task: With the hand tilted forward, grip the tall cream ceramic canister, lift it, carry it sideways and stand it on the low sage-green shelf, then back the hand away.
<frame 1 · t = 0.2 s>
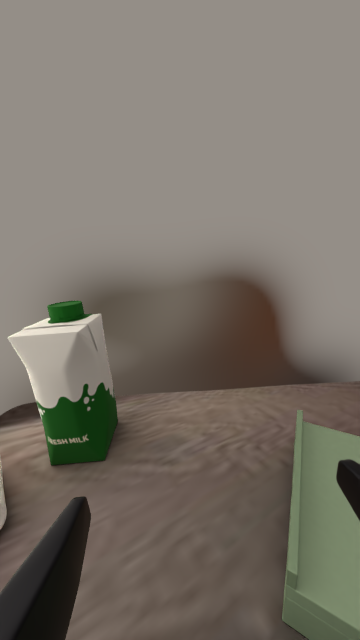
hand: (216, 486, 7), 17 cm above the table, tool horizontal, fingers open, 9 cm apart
milk carton: (88, 442, 31), on the table
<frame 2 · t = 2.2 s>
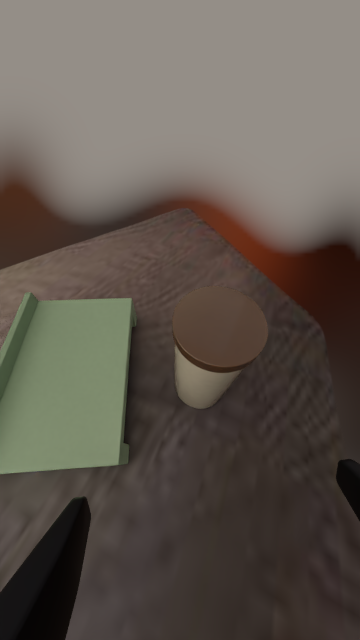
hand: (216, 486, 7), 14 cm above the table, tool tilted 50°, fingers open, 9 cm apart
canister: (199, 382, 23), on the table
shelf: (82, 379, 23), on the table
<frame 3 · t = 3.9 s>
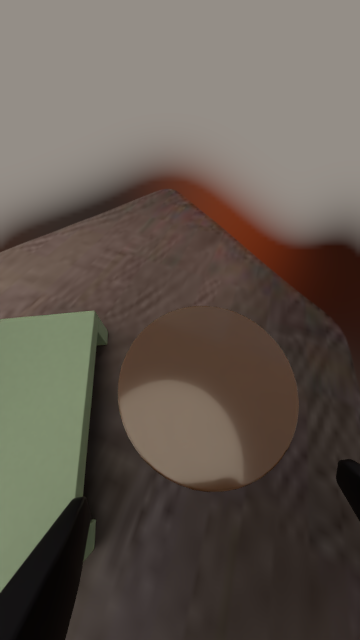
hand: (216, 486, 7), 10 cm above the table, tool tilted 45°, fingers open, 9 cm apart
canister: (190, 418, 18), on the table
shelf: (35, 424, 17), on the table
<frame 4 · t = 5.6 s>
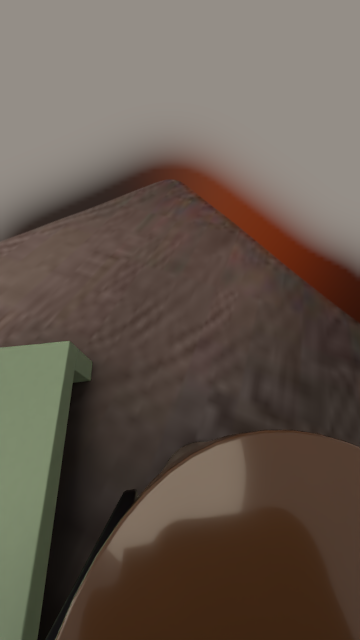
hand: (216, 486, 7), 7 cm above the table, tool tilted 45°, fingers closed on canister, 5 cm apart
canister: (204, 495, 12), on the table, touching gripper
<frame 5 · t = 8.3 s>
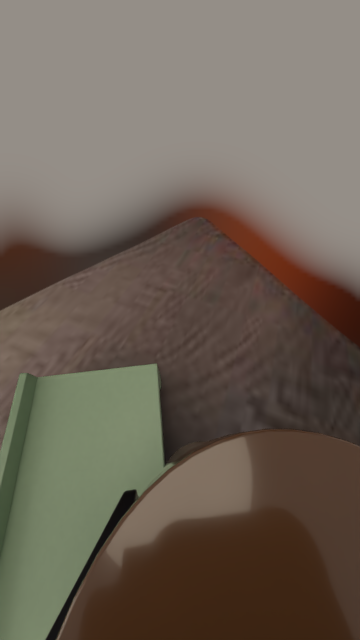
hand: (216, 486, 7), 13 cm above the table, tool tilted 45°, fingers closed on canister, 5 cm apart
canister: (204, 494, 12), point 7 cm above the table, touching gripper
shelf: (104, 473, 18), on the table
when the fingers open (11 cm above the table, at t = 10.8 s): canister stays where it is, resting on shelf.
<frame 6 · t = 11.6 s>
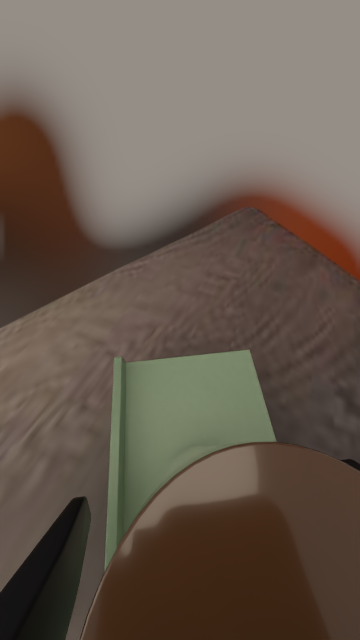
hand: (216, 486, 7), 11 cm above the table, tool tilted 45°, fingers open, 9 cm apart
canister: (204, 495, 13), point 4 cm above the table, touching shelf
shelf: (196, 466, 17), on the table
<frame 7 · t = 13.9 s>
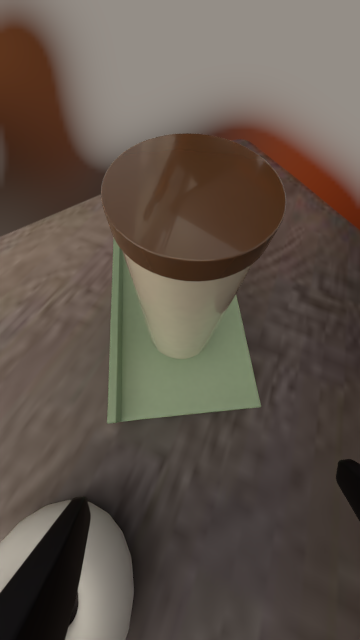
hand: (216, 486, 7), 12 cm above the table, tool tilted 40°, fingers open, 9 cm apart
canister: (180, 327, 18), point 4 cm above the table, touching shelf
shelf: (177, 330, 22), on the table
donut: (67, 578, 15), on the table
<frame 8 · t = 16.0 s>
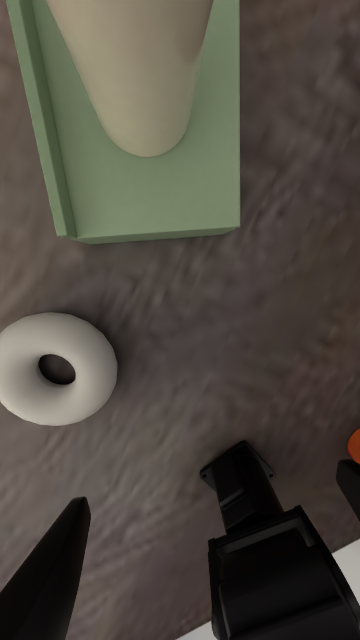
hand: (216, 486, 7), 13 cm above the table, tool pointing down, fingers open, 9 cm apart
canister: (143, 100, 12), point 4 cm above the table, touching shelf
shelf: (145, 121, 15), on the table
donut: (66, 360, 20), on the table
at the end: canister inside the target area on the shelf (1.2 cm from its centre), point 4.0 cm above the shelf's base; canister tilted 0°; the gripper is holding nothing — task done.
